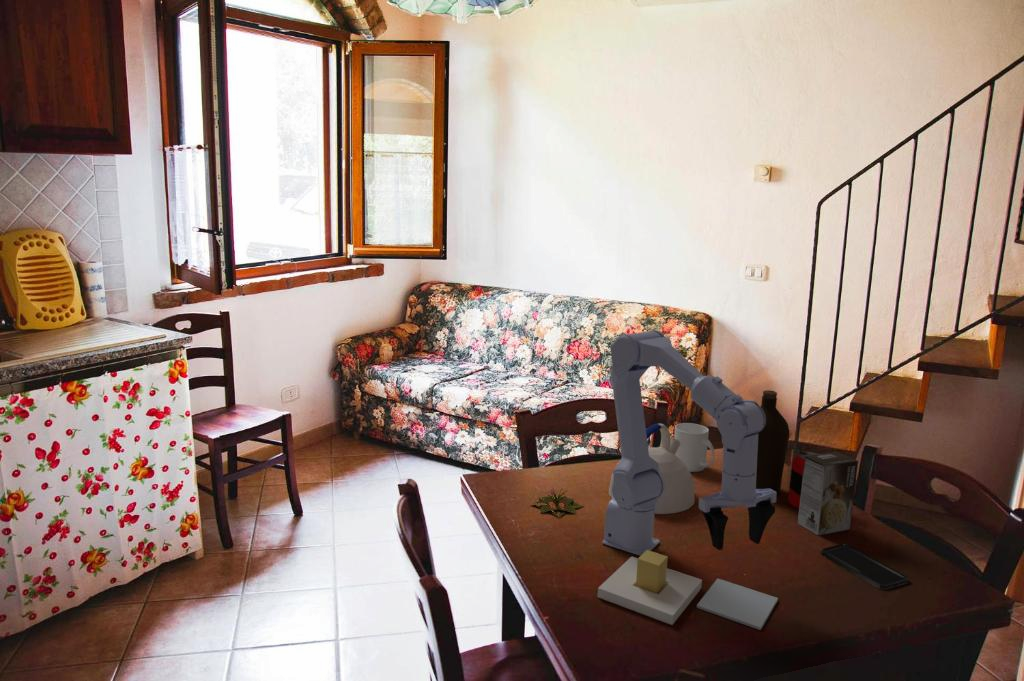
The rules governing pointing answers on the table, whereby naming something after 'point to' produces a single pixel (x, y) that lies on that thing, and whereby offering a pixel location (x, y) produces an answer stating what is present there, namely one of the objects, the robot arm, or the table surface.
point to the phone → (864, 566)
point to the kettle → (669, 474)
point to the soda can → (797, 478)
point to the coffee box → (827, 492)
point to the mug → (693, 446)
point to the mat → (738, 603)
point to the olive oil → (771, 445)
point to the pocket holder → (650, 593)
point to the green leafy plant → (556, 501)
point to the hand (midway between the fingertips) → (736, 544)
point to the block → (651, 571)
